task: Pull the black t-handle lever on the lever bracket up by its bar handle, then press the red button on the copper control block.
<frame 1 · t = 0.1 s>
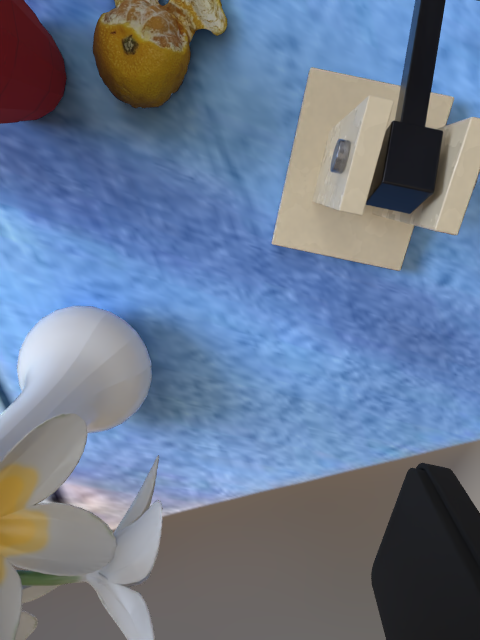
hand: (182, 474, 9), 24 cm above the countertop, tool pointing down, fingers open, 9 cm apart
plastic cup: (22, 73, 29), on the countertop
lever bracket: (354, 175, 30), on the countertop
fruit: (164, 33, 28), on the countertop
flower vase: (111, 346, 35), on the countertop
black t-handle lever: (417, 73, 20), point 9 cm above the countertop, hinge at -25.0°
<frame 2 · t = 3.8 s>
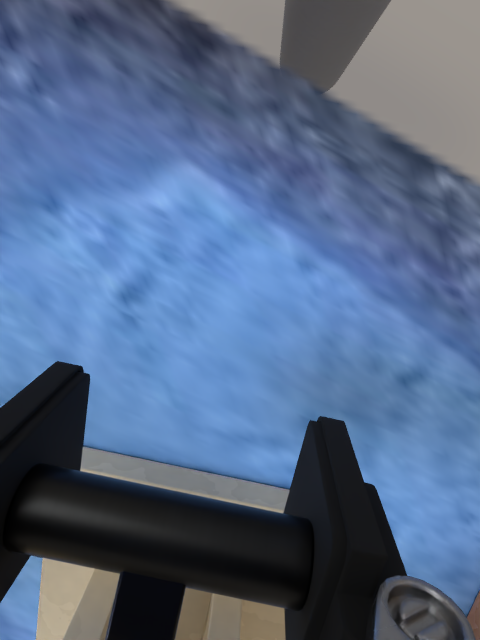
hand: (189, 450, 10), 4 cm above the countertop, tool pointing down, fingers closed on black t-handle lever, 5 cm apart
lever bracket: (169, 588, 17), on the countertop
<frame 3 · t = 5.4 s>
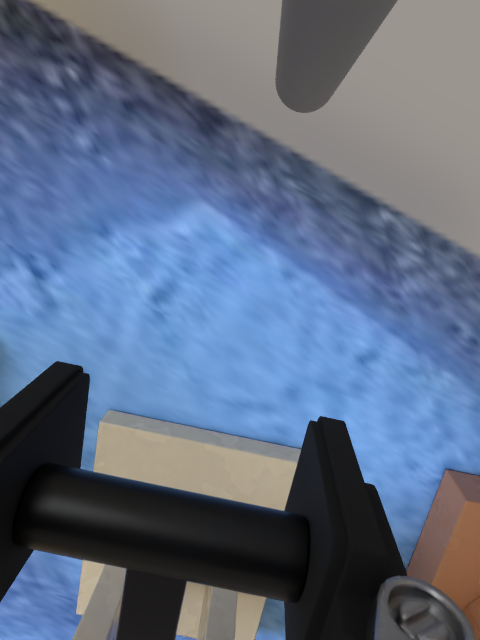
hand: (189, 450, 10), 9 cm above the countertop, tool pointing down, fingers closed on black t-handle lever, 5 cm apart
lever bracket: (185, 526, 22), on the countertop
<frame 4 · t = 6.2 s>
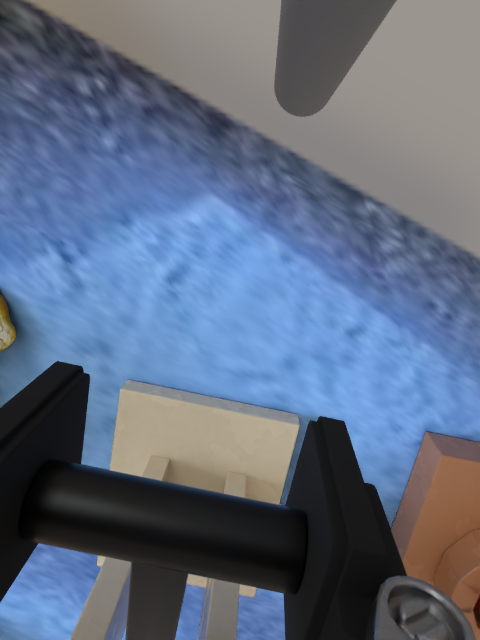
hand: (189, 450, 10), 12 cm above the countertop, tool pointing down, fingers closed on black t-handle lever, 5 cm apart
lever bracket: (195, 486, 24), on the countertop
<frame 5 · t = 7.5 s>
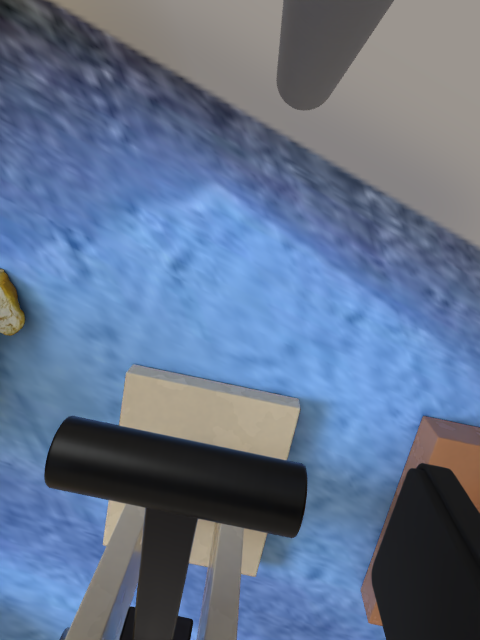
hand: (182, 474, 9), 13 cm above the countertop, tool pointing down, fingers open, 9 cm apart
lever bracket: (198, 468, 25), on the countertop
control block: (475, 526, 25), on the countertop
black t-handle lever: (159, 602, 12), point 12 cm above the countertop, hinge at 15.7°
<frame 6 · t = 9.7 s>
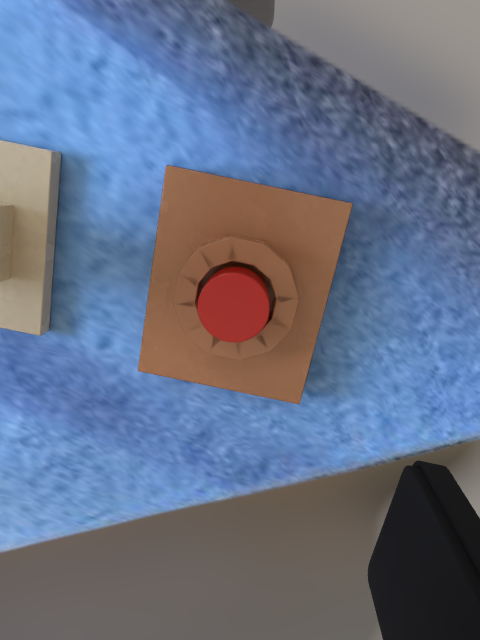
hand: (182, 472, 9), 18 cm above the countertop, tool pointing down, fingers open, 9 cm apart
red button: (234, 304, 23), point 5 cm above the countertop, slide at 0.2 cm
control block: (239, 284, 27), on the countertop
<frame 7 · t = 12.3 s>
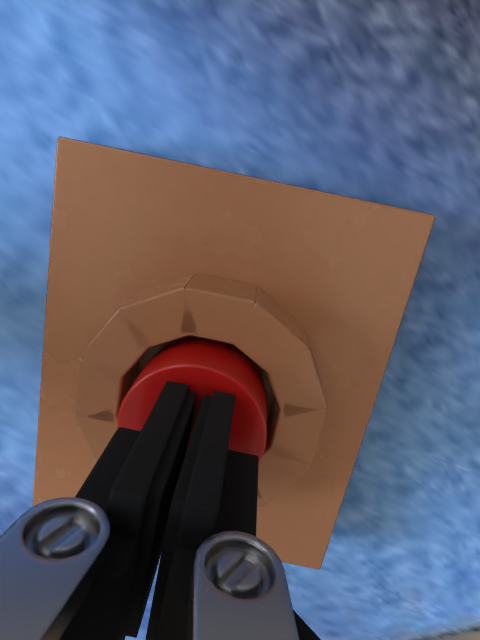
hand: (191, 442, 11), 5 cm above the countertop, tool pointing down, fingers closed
red button: (196, 416, 11), point 4 cm above the countertop, slide at -0.2 cm, touching gripper
control block: (214, 355, 15), on the countertop
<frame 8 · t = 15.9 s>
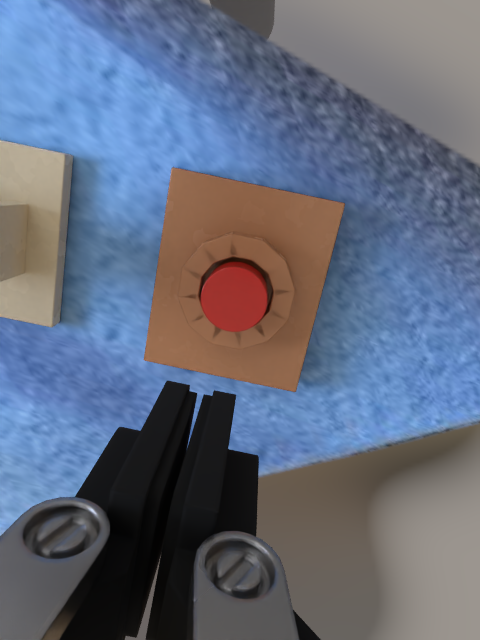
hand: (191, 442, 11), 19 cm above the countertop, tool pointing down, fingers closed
red button: (235, 296, 24), point 5 cm above the countertop, slide at 0.1 cm
control block: (239, 279, 29), on the countertop
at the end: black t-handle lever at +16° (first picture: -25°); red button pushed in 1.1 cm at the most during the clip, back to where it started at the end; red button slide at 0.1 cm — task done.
